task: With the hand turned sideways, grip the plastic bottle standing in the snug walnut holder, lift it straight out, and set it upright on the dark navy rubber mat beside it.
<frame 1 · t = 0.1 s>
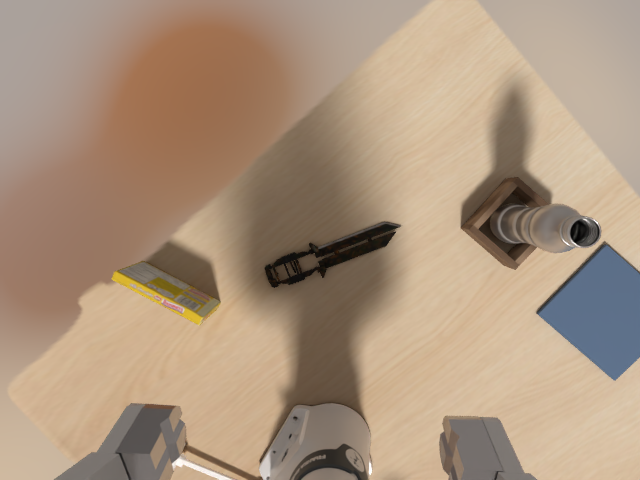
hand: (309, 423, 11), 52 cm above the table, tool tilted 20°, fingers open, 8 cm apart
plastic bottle: (504, 222, 61), resting in walnut holder
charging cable: (204, 461, 69), on the table, touching arm
walnut holder: (504, 222, 61), on the table
rubber mat: (608, 312, 61), on the table
candy box: (180, 285, 65), on the table
knife: (333, 250, 63), on the table
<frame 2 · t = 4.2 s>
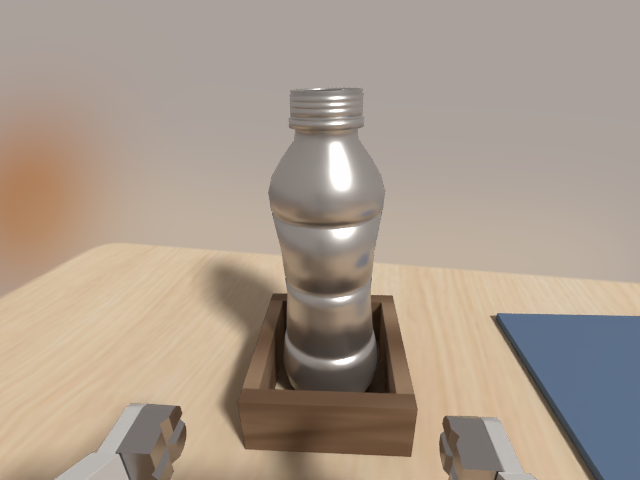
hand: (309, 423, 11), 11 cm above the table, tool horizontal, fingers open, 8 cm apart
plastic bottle: (330, 383, 26), resting in walnut holder
walnut holder: (330, 381, 26), on the table
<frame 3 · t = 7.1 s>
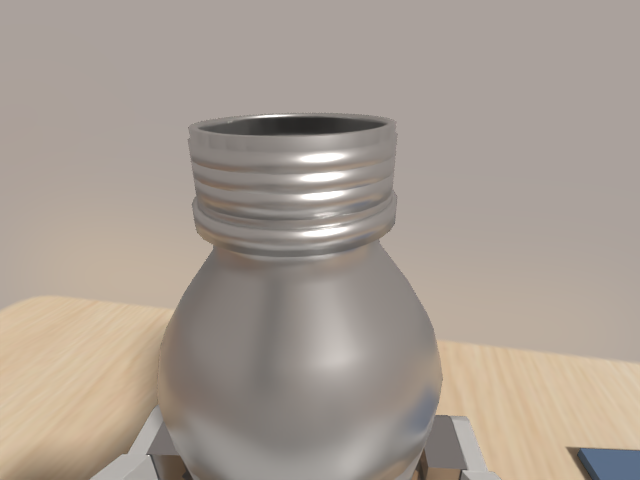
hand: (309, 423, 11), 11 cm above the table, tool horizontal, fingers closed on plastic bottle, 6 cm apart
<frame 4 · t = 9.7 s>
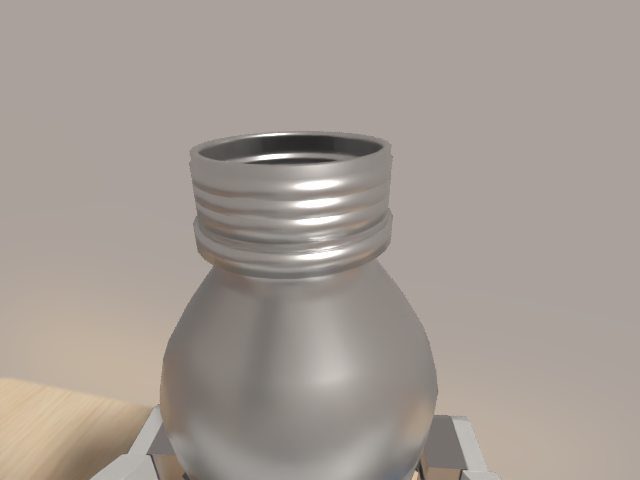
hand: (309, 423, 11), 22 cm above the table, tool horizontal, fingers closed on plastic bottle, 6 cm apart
when the fingers open (13 cm above the table, at t = 12.8 s): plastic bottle stays where it is, resting on rubber mat.
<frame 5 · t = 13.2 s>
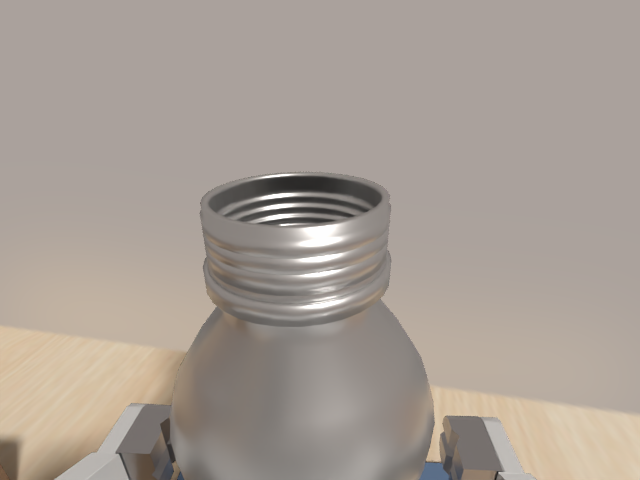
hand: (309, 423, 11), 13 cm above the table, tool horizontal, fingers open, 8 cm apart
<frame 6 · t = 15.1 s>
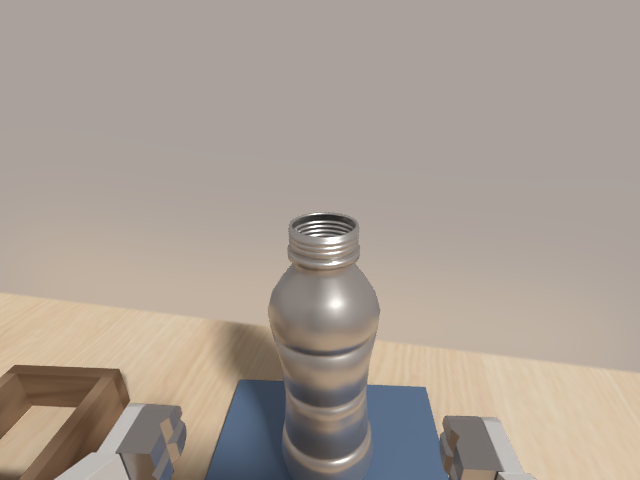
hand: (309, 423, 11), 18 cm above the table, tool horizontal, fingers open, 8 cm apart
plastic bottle: (327, 466, 27), resting on rubber mat
walnut holder: (34, 453, 29), on the table
rubber mat: (327, 470, 27), on the table
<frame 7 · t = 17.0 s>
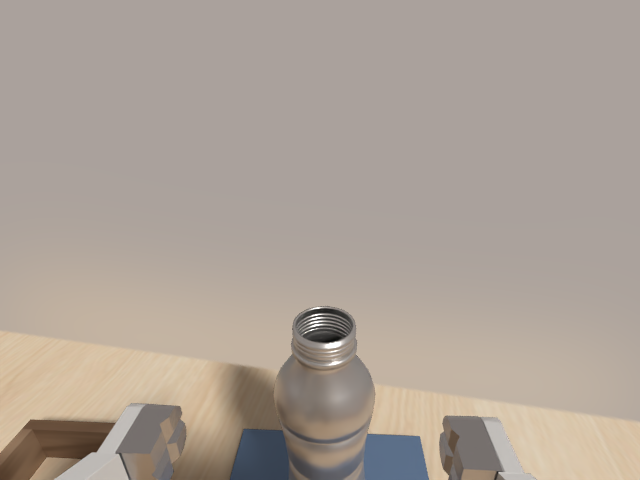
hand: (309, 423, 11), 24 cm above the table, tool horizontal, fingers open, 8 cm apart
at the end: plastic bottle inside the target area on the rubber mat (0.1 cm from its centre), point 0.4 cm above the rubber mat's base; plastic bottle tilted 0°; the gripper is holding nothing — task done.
